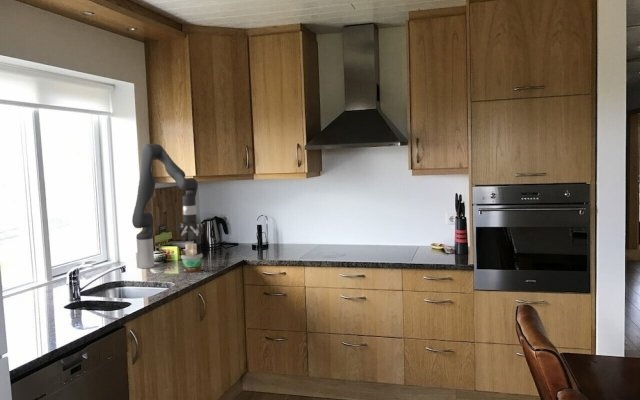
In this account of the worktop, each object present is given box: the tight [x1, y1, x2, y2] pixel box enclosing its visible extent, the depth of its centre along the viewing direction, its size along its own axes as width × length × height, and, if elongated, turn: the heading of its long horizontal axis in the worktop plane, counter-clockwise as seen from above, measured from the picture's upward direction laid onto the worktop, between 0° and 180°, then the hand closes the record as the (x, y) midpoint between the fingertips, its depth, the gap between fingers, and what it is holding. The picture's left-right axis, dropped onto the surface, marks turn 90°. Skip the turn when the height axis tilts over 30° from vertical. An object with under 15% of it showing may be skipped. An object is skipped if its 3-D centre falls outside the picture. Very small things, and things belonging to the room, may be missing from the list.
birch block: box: [184, 242, 198, 256], centre depth 297 cm, size 4×4×6 cm
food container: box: [180, 252, 204, 274], centre depth 297 cm, size 12×6×10 cm, turn 105°
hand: (191, 242), depth 296 cm, fingers open, 8 cm apart
